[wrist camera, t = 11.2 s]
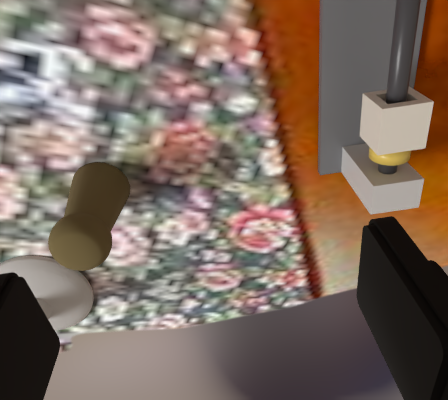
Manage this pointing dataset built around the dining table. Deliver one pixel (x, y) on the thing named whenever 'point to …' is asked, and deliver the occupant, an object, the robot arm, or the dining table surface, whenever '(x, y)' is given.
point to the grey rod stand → (363, 83)
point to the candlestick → (54, 288)
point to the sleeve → (395, 122)
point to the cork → (89, 217)
